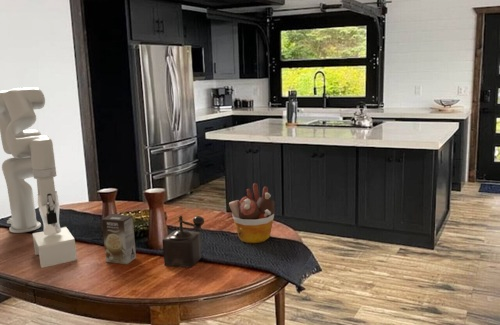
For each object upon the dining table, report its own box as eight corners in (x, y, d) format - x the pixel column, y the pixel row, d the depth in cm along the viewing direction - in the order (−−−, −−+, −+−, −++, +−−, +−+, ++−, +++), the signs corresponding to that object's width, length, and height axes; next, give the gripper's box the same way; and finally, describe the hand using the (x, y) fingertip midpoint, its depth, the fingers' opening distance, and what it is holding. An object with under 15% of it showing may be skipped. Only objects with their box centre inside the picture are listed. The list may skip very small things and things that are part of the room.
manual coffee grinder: (162, 266, 167) (158, 216, 163) (176, 254, 177) (172, 206, 174) (204, 270, 163) (201, 218, 159) (216, 257, 173) (213, 208, 169)
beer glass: (55, 236, 174) (50, 195, 171) (38, 235, 175) (32, 195, 172) (66, 229, 181) (61, 190, 178) (49, 229, 182) (44, 190, 179)
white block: (35, 253, 184) (32, 233, 182) (68, 246, 189) (66, 226, 188) (41, 268, 170) (38, 246, 168) (77, 259, 176) (74, 238, 174)
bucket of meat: (271, 248, 179) (270, 196, 175) (228, 247, 182) (225, 195, 178) (278, 229, 198) (277, 182, 194) (238, 228, 201) (236, 182, 197)
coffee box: (105, 262, 173) (100, 218, 170) (115, 255, 179) (111, 213, 175) (127, 264, 170) (123, 220, 167) (137, 257, 176) (133, 214, 172)
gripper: (30, 170, 179) (36, 216, 183) (36, 179, 164) (43, 229, 168) (51, 167, 183) (57, 213, 186) (60, 175, 168) (66, 225, 172)
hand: (50, 220), depth 177 cm, fingers closed on beer glass, 6 cm apart
